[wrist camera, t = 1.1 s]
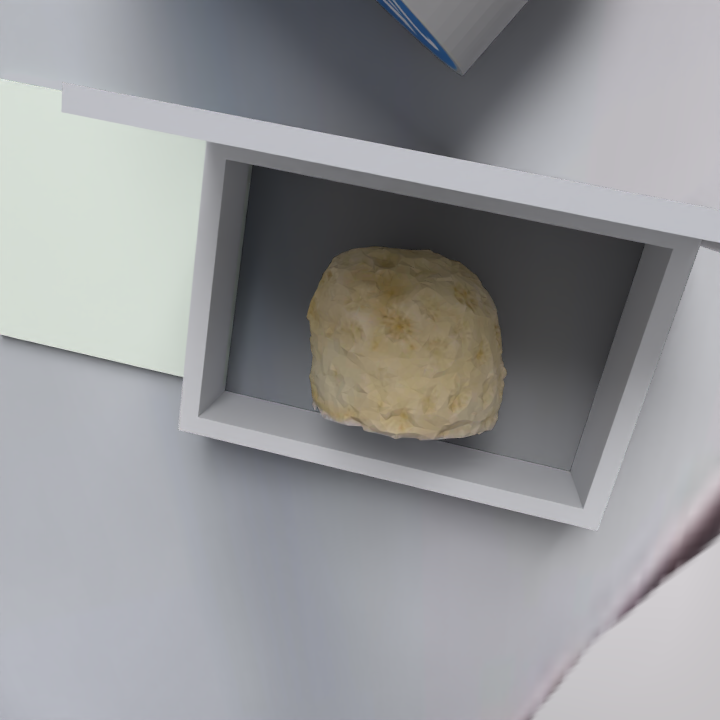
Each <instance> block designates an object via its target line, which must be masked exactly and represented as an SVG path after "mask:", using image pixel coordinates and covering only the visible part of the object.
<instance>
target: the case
mask: <svg viewBox="0 0 720 720" xmlns="http://www.w3.org/2000/svg"><path fill="white" fill-rule="evenodd" d="M61 112H63V113H69V114H74V115H79V116H84V117H89V118H94V119H99V120H104V121H109V122H114V123H119V124H124V125H129V126H134V127H139V128H144V129H149V130H154V131H159V132H164V133H169V134H174V135H179V136H184V137H189V138H194V139H199V140H205V141H206V150H205V160H204V170H203V181H202V191H201V201H200V211H199V221H198V232H197V242H196V252H195V262H194V272H193V283H192V293H191V303H190V313H189V323H188V334H187V344H186V354H185V364H184V374H183V385H182V395H181V405H180V415H179V425H178V430H180V431H184V432H189V433H193V434H197V435H201V436H205V437H209V438H214V439H218V440H222V441H226V442H230V443H234V444H238V445H243V446H247V447H251V448H255V449H259V450H263V451H267V452H272V453H276V454H280V455H284V456H288V457H292V458H296V459H301V460H305V461H309V462H313V463H317V464H321V465H325V466H330V467H334V468H338V469H342V470H346V471H350V472H355V473H359V474H363V475H367V476H371V477H375V478H379V479H384V480H388V481H392V482H396V483H400V484H404V485H408V486H413V487H417V488H421V489H425V490H429V491H433V492H437V493H442V494H446V495H450V496H454V497H458V498H462V499H466V500H471V501H475V502H479V503H483V504H487V505H491V506H495V507H500V508H504V509H508V510H512V511H516V512H520V513H525V514H529V515H533V516H537V517H541V518H545V519H549V520H554V521H558V522H562V523H566V524H570V525H574V526H578V527H583V528H587V529H591V530H595V531H598V529H599V526H600V523H601V520H602V517H603V515H604V512H605V509H606V506H607V504H608V501H609V498H610V495H611V492H612V490H613V487H614V484H615V481H616V478H617V476H618V473H619V470H620V467H621V465H622V462H623V459H624V456H625V453H626V451H627V448H628V445H629V442H630V439H631V437H632V434H633V431H634V428H635V425H636V423H637V420H638V417H639V414H640V412H641V409H642V406H643V403H644V400H645V398H646V395H647V392H648V389H649V386H650V384H651V381H652V378H653V375H654V372H655V370H656V367H657V364H658V361H659V359H660V356H661V353H662V350H663V347H664V345H665V342H666V339H667V336H668V333H669V331H670V328H671V325H672V322H673V320H674V317H675V314H676V311H677V308H678V306H679V303H680V300H681V297H682V294H683V292H684V289H685V286H686V283H687V280H688V278H689V275H690V272H691V269H692V267H693V264H694V261H695V258H696V255H697V253H698V250H699V247H700V246H702V247H705V248H708V249H711V250H714V251H716V252H719V253H720V210H719V209H714V208H709V207H703V206H698V205H693V204H688V203H683V202H678V201H673V200H667V199H662V198H657V197H652V196H647V195H642V194H636V193H631V192H626V191H621V190H616V189H611V188H606V187H600V186H595V185H590V184H585V183H580V182H575V181H570V180H564V179H559V178H554V177H549V176H544V175H539V174H533V173H528V172H523V171H518V170H513V169H508V168H503V167H497V166H492V165H487V164H482V163H477V162H472V161H466V160H461V159H456V158H451V157H446V156H441V155H436V154H430V153H425V152H420V151H415V150H410V149H405V148H399V147H394V146H389V145H384V144H379V143H374V142H369V141H363V140H358V139H353V138H348V137H343V136H338V135H332V134H327V133H322V132H317V131H312V130H307V129H302V128H296V127H291V126H286V125H281V124H276V123H271V122H265V121H260V120H255V119H250V118H245V117H240V116H235V115H229V114H224V113H219V112H214V111H209V110H204V109H199V108H193V107H188V106H183V105H178V104H173V103H168V102H162V101H157V100H152V99H147V98H142V97H137V96H132V95H126V94H121V93H116V92H111V91H106V90H101V89H95V88H90V87H85V86H80V85H75V84H70V83H65V82H62V109H61ZM249 164H252V165H257V166H262V167H267V168H272V169H277V170H281V171H286V172H291V173H296V174H301V175H306V176H311V177H316V178H321V179H326V180H331V181H336V182H341V183H346V184H351V185H356V186H361V187H366V188H371V189H376V190H381V191H386V192H391V193H396V194H401V195H406V196H411V197H416V198H421V199H426V200H431V201H436V202H441V203H446V204H451V205H456V206H461V207H466V208H471V209H476V210H481V211H486V212H491V213H496V214H501V215H506V216H511V217H516V218H521V219H526V220H531V221H536V222H541V223H546V224H551V225H556V226H561V227H566V228H571V229H576V230H581V231H586V232H591V233H596V234H601V235H606V236H610V237H615V238H620V239H625V240H630V241H635V242H640V243H645V246H644V249H643V252H642V255H641V258H640V261H639V264H638V267H637V270H636V273H635V276H634V279H633V282H632V285H631V288H630V292H629V295H628V298H627V301H626V304H625V307H624V310H623V313H622V316H621V319H620V322H619V325H618V328H617V331H616V334H615V337H614V340H613V343H612V346H611V349H610V352H609V355H608V358H607V361H606V364H605V367H604V370H603V373H602V376H601V379H600V382H599V385H598V388H597V392H596V395H595V398H594V401H593V404H592V407H591V410H590V413H589V416H588V419H587V422H586V425H585V428H584V431H583V434H582V437H581V440H580V443H579V446H578V449H577V452H576V455H575V458H574V461H573V464H572V467H571V470H570V471H566V470H562V469H557V468H553V467H549V466H545V465H540V464H536V463H532V462H528V461H523V460H519V459H515V458H510V457H506V456H502V455H498V454H493V453H489V452H485V451H481V450H476V449H472V448H468V447H463V446H459V445H455V444H451V443H446V442H442V441H438V440H419V439H417V438H398V439H394V438H392V437H389V436H385V435H381V434H378V433H374V432H367V431H365V430H363V427H362V426H348V425H344V424H340V423H337V422H334V421H331V420H327V419H324V418H323V416H322V415H321V413H318V412H314V411H310V410H305V409H301V408H297V407H292V406H288V405H284V404H280V403H275V402H271V401H267V400H262V399H258V398H254V397H250V396H245V395H241V394H237V393H233V392H228V391H225V387H226V383H225V384H224V385H223V383H224V382H223V380H224V379H223V376H224V368H225V360H226V352H227V343H228V339H229V337H228V336H229V327H230V324H232V323H230V318H231V310H232V302H233V295H234V294H233V293H234V285H235V277H236V271H237V270H236V268H237V260H238V252H239V243H240V237H241V236H240V235H241V227H242V220H243V219H242V218H243V210H245V209H244V202H245V194H246V185H247V177H248V171H249V170H248V169H249ZM251 171H252V170H251ZM250 174H251V172H250ZM250 179H251V178H250ZM249 190H250V189H249ZM247 191H248V190H247ZM248 193H249V192H248ZM247 202H248V201H247ZM245 216H246V215H245ZM245 222H246V221H245ZM243 229H244V228H243ZM242 241H243V240H242ZM241 243H242V242H241ZM242 246H243V245H242ZM239 258H241V257H239ZM239 263H240V264H241V262H239ZM238 276H239V275H238ZM236 280H237V279H236ZM236 282H237V281H236ZM237 286H238V285H237ZM236 288H237V287H236ZM235 290H236V289H235ZM236 291H237V290H236ZM234 299H235V298H234ZM235 301H236V300H235ZM233 317H234V316H233ZM231 333H232V332H231ZM228 348H229V347H228ZM229 352H230V351H229ZM228 354H229V353H228ZM227 364H228V363H227ZM226 374H227V373H226ZM226 376H227V375H226ZM224 377H225V376H224ZM222 385H223V386H222Z"/></svg>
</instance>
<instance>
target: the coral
mask: <svg viewBox="0 0 720 720" xmlns="http://www.w3.org/2000/svg"><path fill="white" fill-rule="evenodd" d="M306 318H307V319H308V320H309V321H310V332H311V337H310V343H311V352H312V355H313V359H312V367H311V372H310V376H309V378H310V382H311V389H312V399H313V403H312V405H313V407H314V410H315V409H316V406H317V408H318V409H319V411H320V413H321V415H322V416H323V418H324V419H327V420H331V421H334V422H337V423H340V424H344V425H348V426H362V427H363V430H365V431H367V432H374V433H378V434H381V435H385V436H389V437H392V438H394V439H398V438H417V439H419V440H438V439H449V438H464V437H468V436H472V435H475V434H477V433H478V434H479V435H480V434H481V433H482V432H484V431H490V430H492V428H493V427H494V426H495V423H496V421H497V419H498V410H499V409H500V404H501V402H502V395H503V388H504V381H503V379H504V378H505V376H506V375H507V371H506V369H505V367H504V366H503V364H504V363H503V361H502V357H501V354H502V352H503V351H502V340H501V329H500V327H499V323H498V316H497V309H496V307H495V304H494V302H493V300H492V298H491V297H490V295H489V293H488V291H487V290H486V289H485V288H484V287H483V286H482V284H481V281H480V280H479V278H478V277H477V275H475V274H474V273H472V272H471V271H470V270H469V269H468V268H466V267H465V266H464V265H463V264H461V263H460V262H459V261H454V260H450V259H448V258H445V257H444V256H442V255H440V254H437V253H434V252H432V251H431V250H430V249H428V250H406V249H397V248H387V247H378V246H372V247H366V248H355V249H350V250H349V251H346V252H342V253H341V254H339V255H338V256H336V257H334V258H333V259H332V262H331V263H330V265H329V266H328V268H327V269H326V270H325V272H324V273H323V276H322V278H321V280H320V282H319V285H318V288H317V290H316V291H315V293H314V296H313V298H312V300H311V302H310V305H309V309H308V313H307V317H306Z"/></svg>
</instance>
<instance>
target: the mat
mask: <svg viewBox="0 0 720 720" xmlns="http://www.w3.org/2000/svg"><path fill="white" fill-rule="evenodd" d="M61 109H62V91H60V90H55V89H50V88H45V87H40V86H35V85H30V84H25V83H19V82H14V81H9V80H4V79H0V335H4V336H9V337H13V338H17V339H22V340H26V341H30V342H34V343H39V344H43V345H47V346H52V347H56V348H60V349H64V350H69V351H73V352H77V353H82V354H86V355H90V356H94V357H99V358H103V359H107V360H112V361H116V362H120V363H124V364H129V365H133V366H137V367H142V368H146V369H150V370H154V371H159V372H163V373H167V374H172V375H176V376H180V377H183V374H184V364H185V354H186V344H187V334H188V323H189V313H190V303H191V293H192V283H193V272H194V262H195V252H196V242H197V232H198V221H199V211H200V201H201V191H202V181H203V170H204V160H205V150H206V141H205V140H199V139H194V138H189V137H184V136H179V135H174V134H169V133H164V132H159V131H154V130H149V129H144V128H139V127H134V126H129V125H124V124H119V123H114V122H109V121H104V120H99V119H94V118H89V117H84V116H79V115H74V114H69V113H63V112H61ZM252 166H253V165H252V164H249V169H248V170H249V171H248V177H247V185H246V194H245V202H244V209H245V210H243V218H242V219H243V220H242V227H241V235H240V236H241V237H240V243H239V252H238V260H237V268H236V270H237V271H236V277H235V285H234V293H233V294H234V295H233V302H232V310H231V318H230V323H232V324H230V327H229V336H228V337H229V339H228V343H227V352H226V360H225V368H224V376H225V377H224V376H223V379H224V380H223V382H224V383H223V385H224V384H225V383H226V379H227V376H226V375H227V374H226V373H227V371H228V364H227V363H228V362H229V354H230V352H229V351H230V346H231V338H232V333H231V332H232V330H233V322H234V317H233V316H234V313H235V305H236V301H235V300H236V297H237V291H236V290H237V289H238V286H237V285H238V281H239V276H238V275H239V272H240V263H239V262H241V258H239V257H241V256H242V248H243V246H242V245H243V241H242V240H244V231H245V223H246V222H245V221H246V216H245V215H247V207H248V202H247V201H248V199H249V193H248V192H249V191H250V190H249V189H250V182H251V179H250V178H251V174H252V171H251V170H252ZM250 172H251V174H250ZM247 190H248V191H247ZM243 228H244V229H243ZM241 242H242V243H241ZM236 279H237V280H236ZM236 281H237V282H236ZM236 287H237V288H236ZM235 289H236V290H235ZM234 298H235V299H234ZM228 347H229V348H228ZM228 353H229V354H228ZM223 385H222V386H223Z"/></svg>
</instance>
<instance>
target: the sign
mask: <svg viewBox="0 0 720 720" xmlns="http://www.w3.org/2000/svg"><path fill="white" fill-rule="evenodd" d="M376 1H377V2H378V3H379V4H380V5H381V6H382V7H383V8H384V9H385V10H386V11H387V12H388V13H389V14H390V15H391V16H393V17H394V18H395V19H396V20H397V21H398V22H399V23H400V24H401V25H402V26H403V27H404V28H405V29H406V30H407V31H408V32H410V33H411V34H412V35H413V36H414V37H415V38H416V39H417V40H418V41H419V42H420V43H422V44H423V45H424V46H425V47H426V48H427V49H428V50H429V51H430V52H432V53H433V54H434V55H435V56H436V57H437V58H438V59H440V60H441V61H442V62H443V63H444V64H446V65H447V66H448V67H449V68H451V69H452V70H453V71H455V72H456V73H458V74H459V75H461V76H463V75H464V74H465V73H466V72H467V70H468V69H469V68H470V67H471V66H472V65H473V64H474V62H475V61H476V60H477V59H478V58H479V57H480V56H481V54H482V53H483V52H484V51H485V50H486V49H487V48H488V46H489V45H490V44H491V43H492V42H493V41H494V40H495V38H496V37H497V36H498V35H499V34H500V33H501V32H502V30H503V29H504V28H505V27H506V26H507V25H508V24H509V22H510V21H511V20H512V19H513V18H514V17H515V16H516V14H517V13H518V12H519V11H520V10H521V9H522V8H523V6H524V5H525V4H526V3H527V2H528V1H529V0H376Z"/></svg>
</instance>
